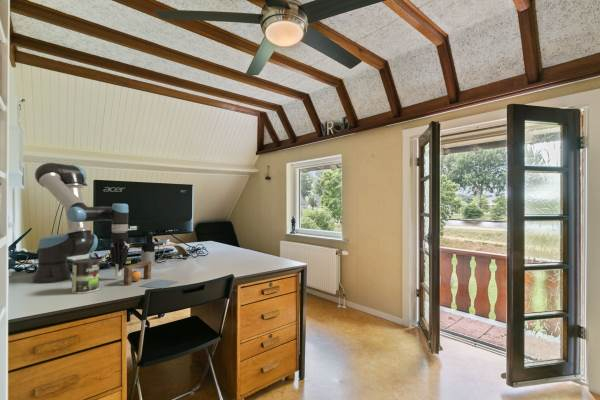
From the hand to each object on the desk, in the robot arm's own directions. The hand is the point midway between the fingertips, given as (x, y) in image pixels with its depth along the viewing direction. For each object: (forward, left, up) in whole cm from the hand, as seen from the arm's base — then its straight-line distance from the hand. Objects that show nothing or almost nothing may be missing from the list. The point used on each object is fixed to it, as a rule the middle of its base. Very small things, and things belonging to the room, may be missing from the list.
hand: (118, 275), depth 153 cm
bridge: (+13, 0, -2) cm, 13 cm away
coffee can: (+3, -20, -2) cm, 20 cm away
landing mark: (+27, 0, -2) cm, 27 cm away
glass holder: (-6, +30, -2) cm, 31 cm away
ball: (+11, 0, +1) cm, 11 cm away
